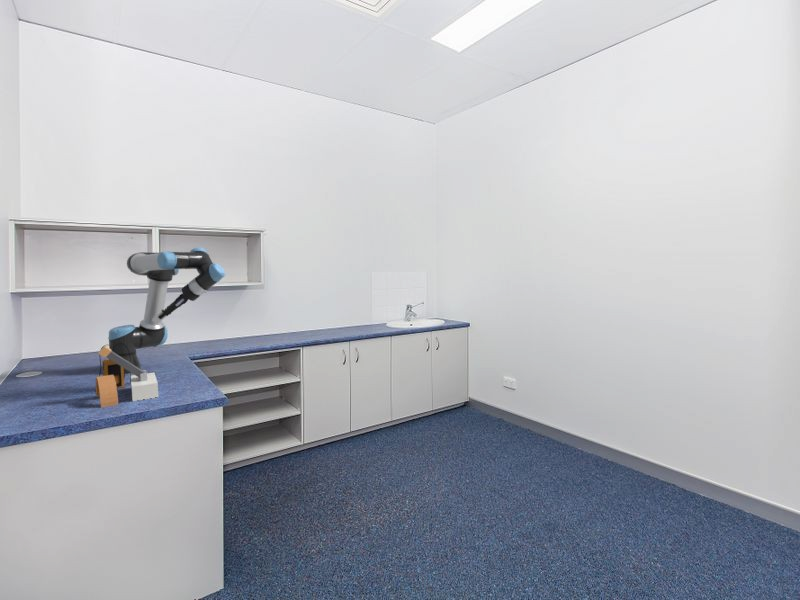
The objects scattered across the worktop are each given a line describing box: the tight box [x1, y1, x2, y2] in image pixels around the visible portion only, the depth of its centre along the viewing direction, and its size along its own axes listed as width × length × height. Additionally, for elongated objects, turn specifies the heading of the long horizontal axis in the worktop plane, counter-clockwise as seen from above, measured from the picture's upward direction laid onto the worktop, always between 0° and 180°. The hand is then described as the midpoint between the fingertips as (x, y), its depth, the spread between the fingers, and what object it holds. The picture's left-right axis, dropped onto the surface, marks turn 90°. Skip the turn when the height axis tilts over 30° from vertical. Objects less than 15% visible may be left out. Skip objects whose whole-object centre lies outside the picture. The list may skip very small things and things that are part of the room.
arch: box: [95, 375, 119, 408], centre depth 173 cm, size 6×20×10 cm, turn 39°
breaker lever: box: [97, 345, 145, 378], centre depth 178 cm, size 5×3×20 cm
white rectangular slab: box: [130, 369, 159, 402], centre depth 182 cm, size 22×9×9 cm, turn 33°
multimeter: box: [94, 343, 132, 393], centre depth 192 cm, size 15×10×20 cm
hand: (154, 321), depth 196 cm, fingers closed
